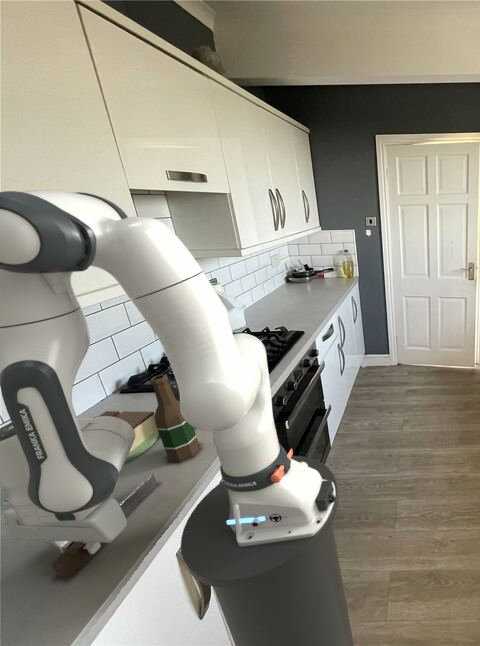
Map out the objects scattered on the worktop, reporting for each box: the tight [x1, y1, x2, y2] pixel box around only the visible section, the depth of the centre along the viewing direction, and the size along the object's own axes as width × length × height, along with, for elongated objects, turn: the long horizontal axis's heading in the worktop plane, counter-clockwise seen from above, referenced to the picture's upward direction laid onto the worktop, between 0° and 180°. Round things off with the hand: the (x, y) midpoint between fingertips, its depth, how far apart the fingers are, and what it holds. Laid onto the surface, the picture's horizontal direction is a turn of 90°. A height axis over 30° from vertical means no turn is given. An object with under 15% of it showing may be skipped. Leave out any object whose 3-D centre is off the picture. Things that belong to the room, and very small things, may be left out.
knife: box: [50, 473, 158, 578], centre depth 75 cm, size 2×22×4 cm, turn 177°
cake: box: [116, 411, 160, 463], centre depth 98 cm, size 20×20×7 cm
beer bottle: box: [150, 374, 201, 463], centre depth 92 cm, size 8×8×24 cm
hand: (82, 550), depth 68 cm, fingers open, 3 cm apart
